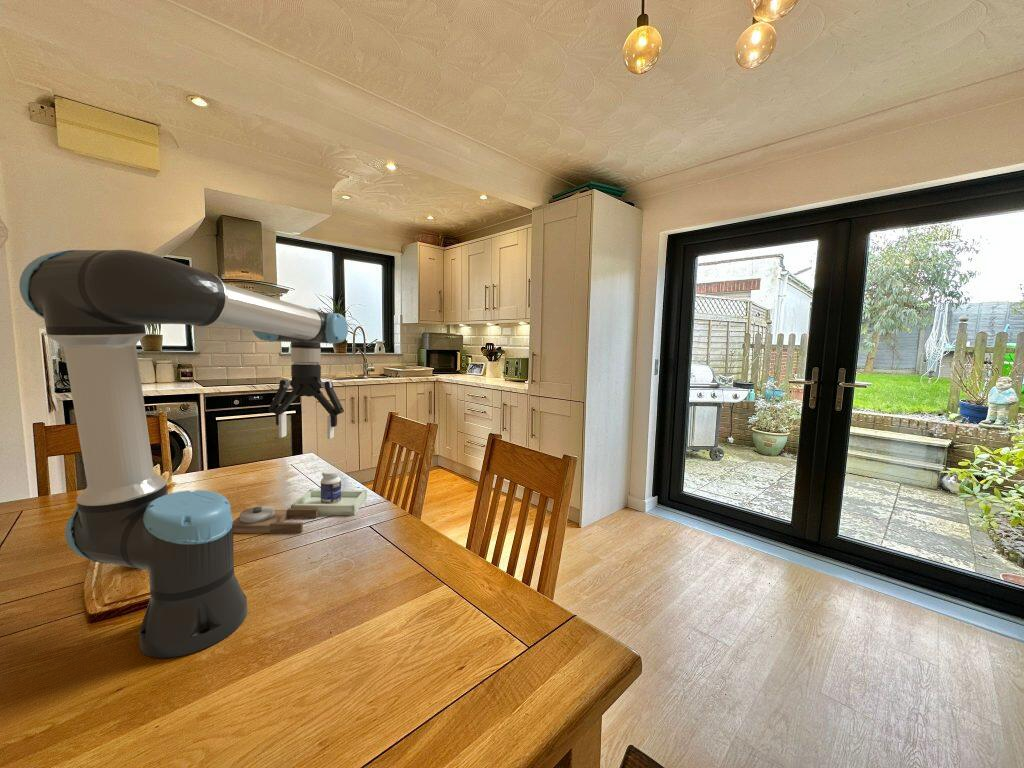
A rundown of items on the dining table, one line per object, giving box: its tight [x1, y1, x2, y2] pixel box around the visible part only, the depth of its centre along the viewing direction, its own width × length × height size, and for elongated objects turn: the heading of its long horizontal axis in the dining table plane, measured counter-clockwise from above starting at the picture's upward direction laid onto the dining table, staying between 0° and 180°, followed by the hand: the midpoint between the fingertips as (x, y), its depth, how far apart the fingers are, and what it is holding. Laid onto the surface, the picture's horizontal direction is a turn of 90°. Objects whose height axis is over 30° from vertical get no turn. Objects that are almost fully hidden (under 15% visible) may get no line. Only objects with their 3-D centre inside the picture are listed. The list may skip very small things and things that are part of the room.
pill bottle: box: [320, 468, 342, 504], centre depth 124 cm, size 6×6×10 cm
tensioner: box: [233, 505, 319, 534], centre depth 112 cm, size 10×19×5 cm, turn 92°
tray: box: [290, 489, 368, 517], centre depth 124 cm, size 12×18×3 cm, turn 92°
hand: (306, 437), depth 117 cm, fingers open, 13 cm apart
